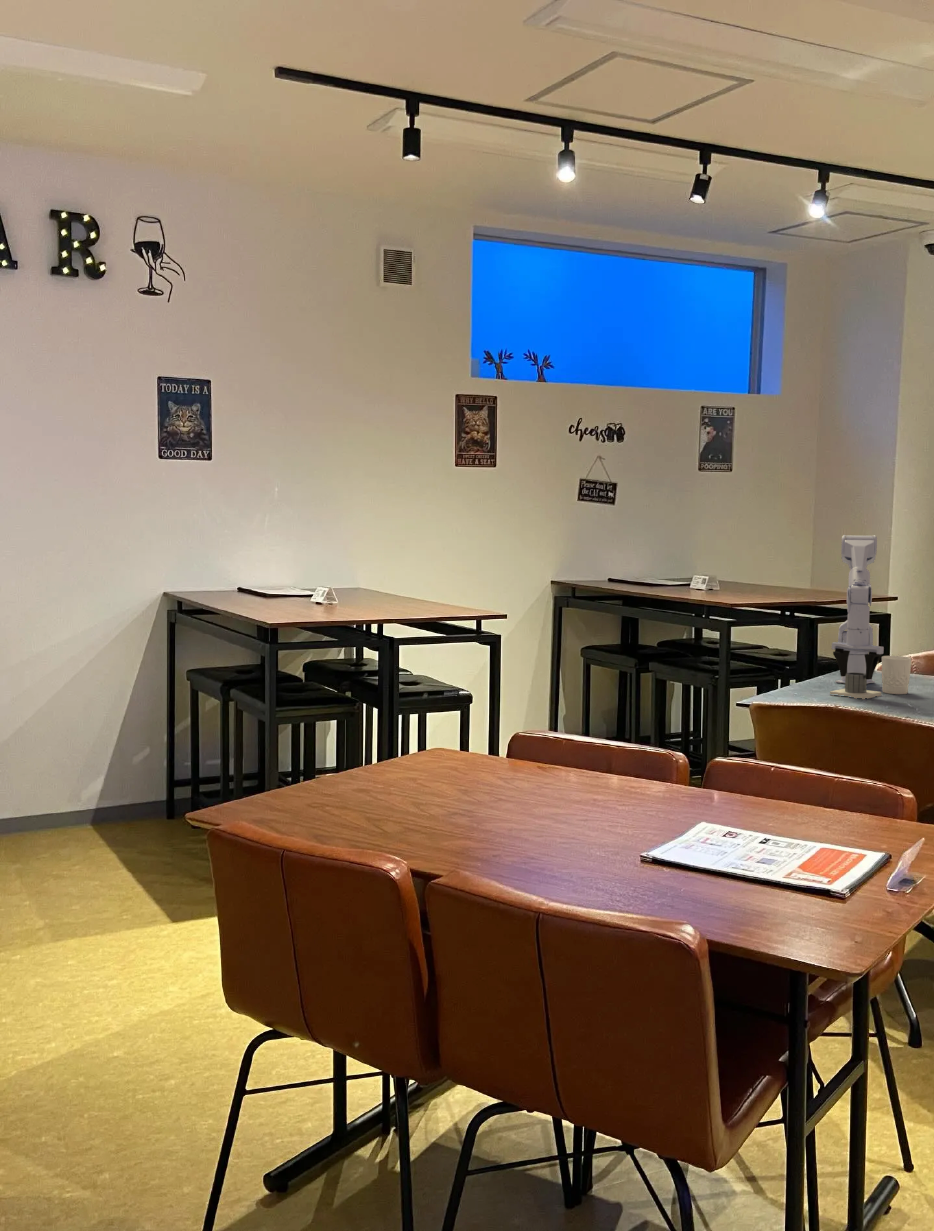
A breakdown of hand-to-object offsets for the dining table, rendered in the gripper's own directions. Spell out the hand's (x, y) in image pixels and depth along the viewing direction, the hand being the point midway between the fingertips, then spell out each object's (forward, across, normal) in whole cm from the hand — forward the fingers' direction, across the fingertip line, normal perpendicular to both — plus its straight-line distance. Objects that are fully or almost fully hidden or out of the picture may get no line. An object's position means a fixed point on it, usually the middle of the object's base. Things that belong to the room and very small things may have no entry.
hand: (856, 677), depth 332 cm
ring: (+4, 0, 0) cm, 4 cm away
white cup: (+5, +5, +13) cm, 15 cm away
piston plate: (+5, 0, 0) cm, 5 cm away
